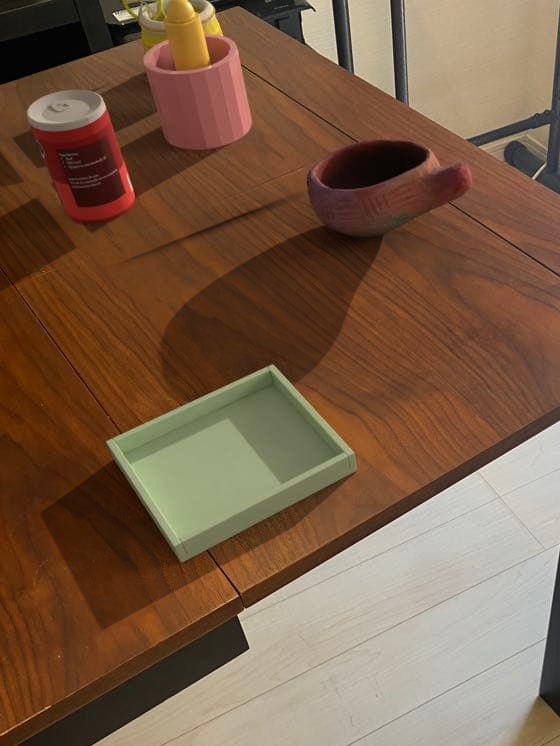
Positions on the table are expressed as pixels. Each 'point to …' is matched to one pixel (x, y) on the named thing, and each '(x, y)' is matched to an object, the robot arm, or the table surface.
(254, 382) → the tray
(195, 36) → the bottle
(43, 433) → the table surface
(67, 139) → the canned food
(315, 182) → the bowl
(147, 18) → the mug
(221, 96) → the pot
